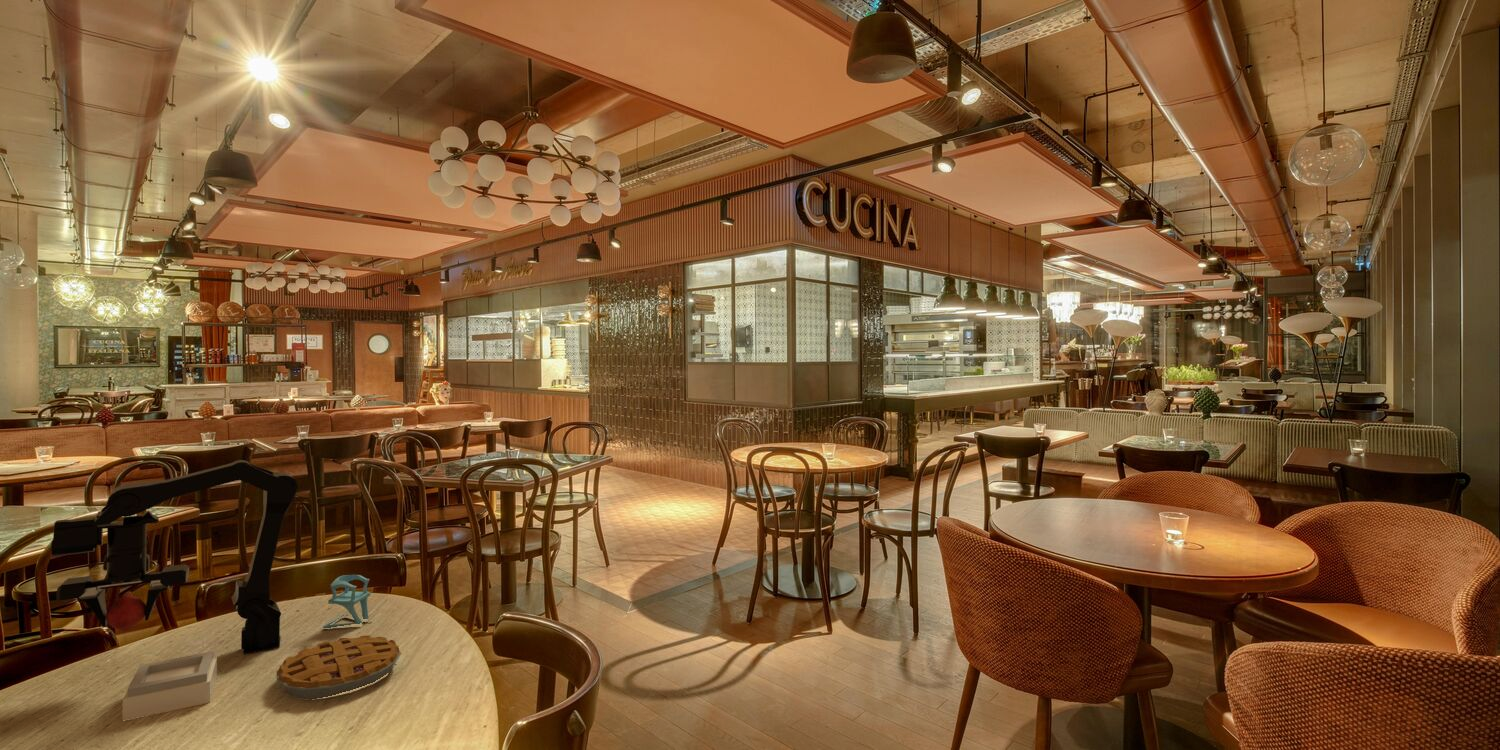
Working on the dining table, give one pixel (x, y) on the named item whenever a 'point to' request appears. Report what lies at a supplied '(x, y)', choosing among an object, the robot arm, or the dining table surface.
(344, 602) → the chair
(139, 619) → the onion
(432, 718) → the dining table surface
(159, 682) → the display pedestal
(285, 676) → the pie
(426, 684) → the dining table surface
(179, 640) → the dining table surface
